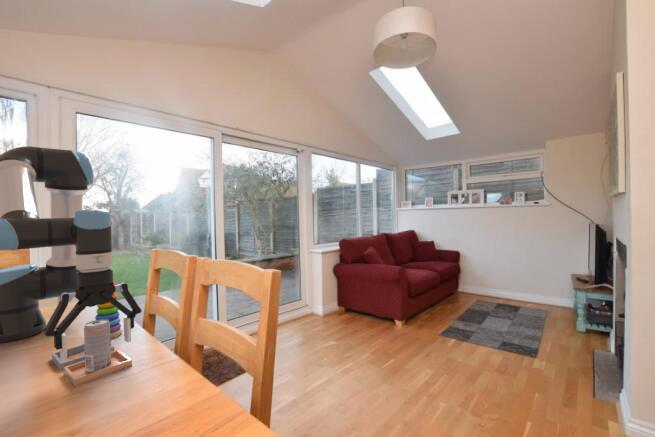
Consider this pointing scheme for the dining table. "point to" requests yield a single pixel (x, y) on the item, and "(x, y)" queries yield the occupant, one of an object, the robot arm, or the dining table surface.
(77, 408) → the dining table surface
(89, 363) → the energy drink
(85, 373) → the terracotta dish
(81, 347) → the grey rectangular frame
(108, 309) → the stacking toy
